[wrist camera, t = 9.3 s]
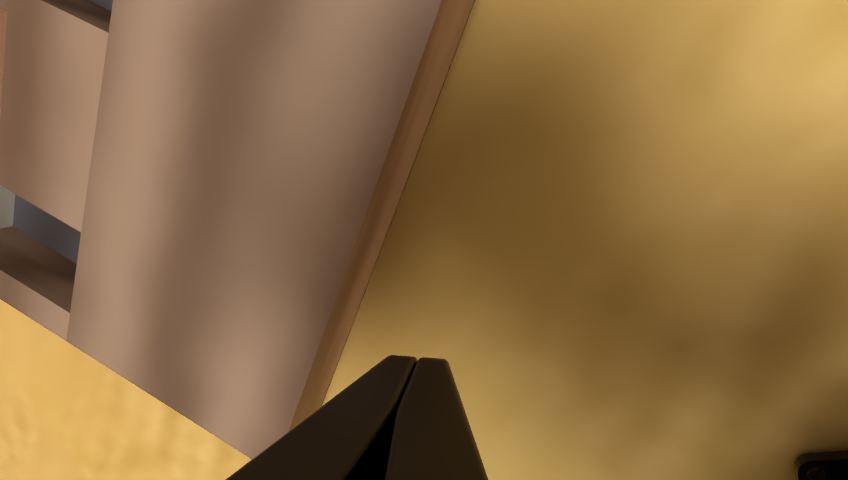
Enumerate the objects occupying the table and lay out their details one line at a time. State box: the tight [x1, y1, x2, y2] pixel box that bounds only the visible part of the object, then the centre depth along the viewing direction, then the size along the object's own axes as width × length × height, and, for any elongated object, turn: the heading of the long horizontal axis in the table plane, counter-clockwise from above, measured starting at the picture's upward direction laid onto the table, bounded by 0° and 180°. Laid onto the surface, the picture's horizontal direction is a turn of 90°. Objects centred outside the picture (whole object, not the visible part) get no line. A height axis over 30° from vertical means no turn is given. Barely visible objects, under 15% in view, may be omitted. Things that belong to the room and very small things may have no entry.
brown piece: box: [0, 0, 475, 459], centre depth 21 cm, size 25×19×6 cm
